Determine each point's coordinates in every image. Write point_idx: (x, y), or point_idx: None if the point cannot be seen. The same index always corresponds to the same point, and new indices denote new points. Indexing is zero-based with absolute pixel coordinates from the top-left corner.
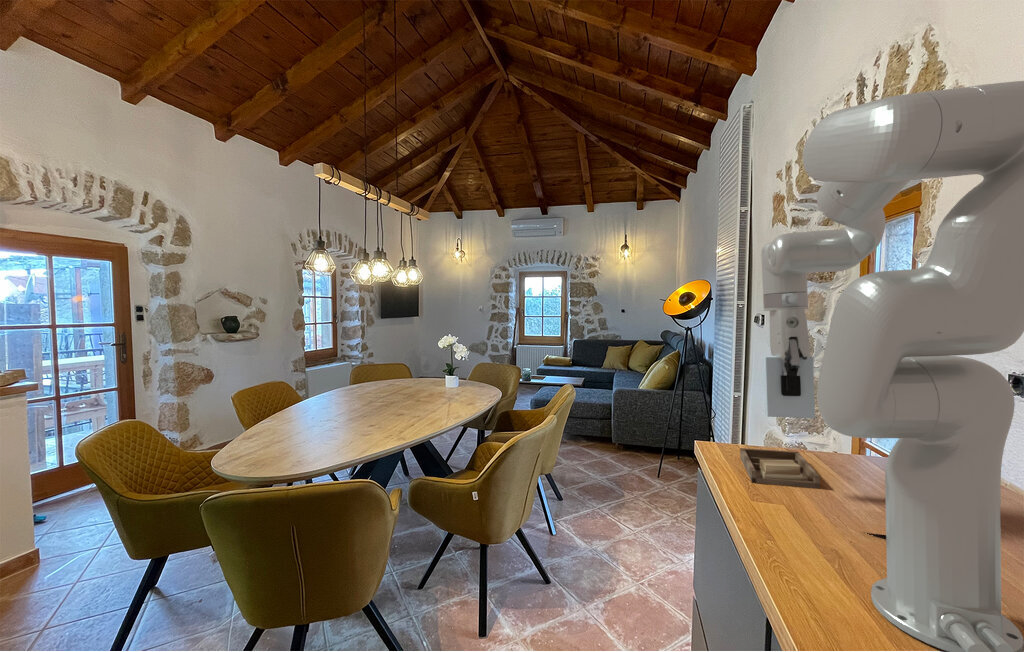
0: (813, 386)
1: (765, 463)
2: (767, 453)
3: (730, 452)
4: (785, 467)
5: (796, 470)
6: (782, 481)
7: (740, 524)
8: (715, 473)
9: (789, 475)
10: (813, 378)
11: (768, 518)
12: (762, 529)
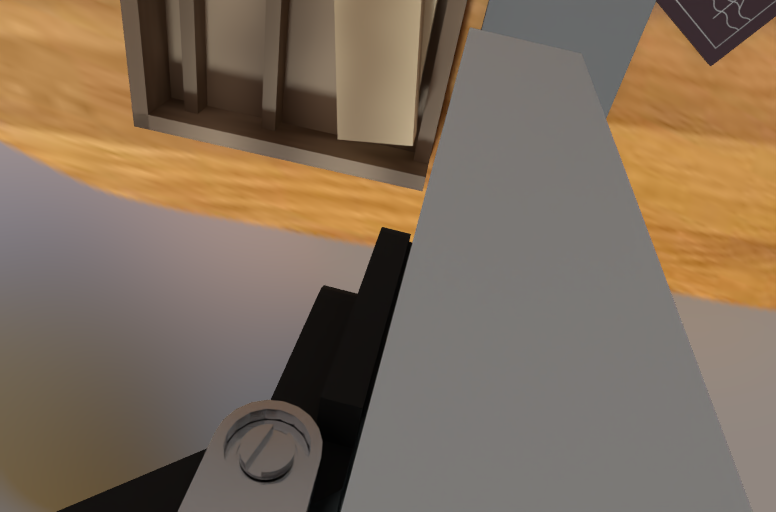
0: (633, 202)
1: (389, 136)
2: (145, 10)
3: (48, 96)
4: (418, 61)
5: (422, 6)
6: (449, 71)
7: (693, 292)
8: (308, 229)
9: (428, 36)
10: (661, 275)
11: (674, 209)
12: (737, 253)
